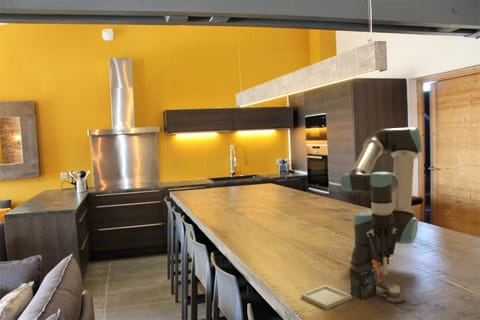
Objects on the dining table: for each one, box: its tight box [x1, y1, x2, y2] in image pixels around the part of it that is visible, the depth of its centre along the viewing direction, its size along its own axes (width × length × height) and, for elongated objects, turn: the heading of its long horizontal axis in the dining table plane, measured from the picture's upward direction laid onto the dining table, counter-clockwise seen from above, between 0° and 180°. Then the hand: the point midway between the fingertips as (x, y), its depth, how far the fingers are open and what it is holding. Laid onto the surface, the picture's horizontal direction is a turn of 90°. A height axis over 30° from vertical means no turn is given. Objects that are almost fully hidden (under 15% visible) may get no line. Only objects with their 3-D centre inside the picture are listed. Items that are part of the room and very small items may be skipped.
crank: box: [372, 260, 401, 297], centre depth 150 cm, size 13×4×10 cm, turn 21°
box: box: [349, 264, 378, 300], centre depth 150 cm, size 8×6×11 cm
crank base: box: [381, 291, 407, 304], centre depth 146 cm, size 8×8×1 cm
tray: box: [300, 284, 353, 310], centre depth 149 cm, size 13×13×1 cm
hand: (383, 272), depth 155 cm, fingers closed
